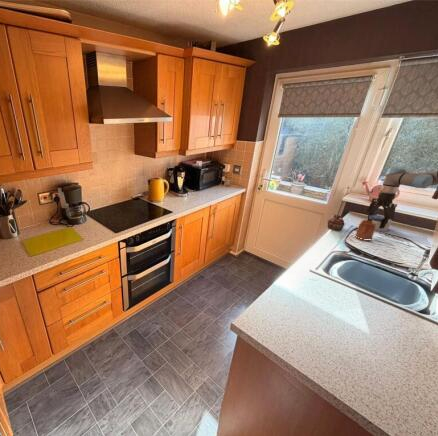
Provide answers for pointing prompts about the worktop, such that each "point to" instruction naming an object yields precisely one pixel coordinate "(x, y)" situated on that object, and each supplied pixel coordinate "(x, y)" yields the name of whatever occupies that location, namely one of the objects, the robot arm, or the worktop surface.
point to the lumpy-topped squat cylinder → (384, 227)
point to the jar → (366, 230)
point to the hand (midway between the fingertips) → (375, 225)
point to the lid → (376, 218)
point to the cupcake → (336, 223)
